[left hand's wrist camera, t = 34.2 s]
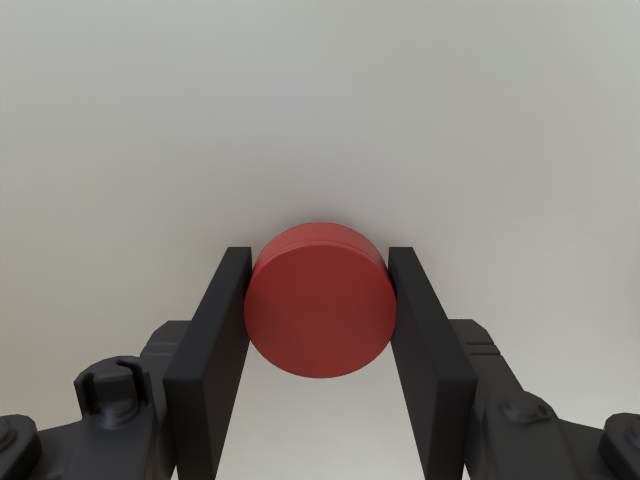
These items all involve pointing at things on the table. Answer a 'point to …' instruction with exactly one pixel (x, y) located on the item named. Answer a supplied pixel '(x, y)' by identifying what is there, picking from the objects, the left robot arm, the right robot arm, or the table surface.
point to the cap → (320, 301)
